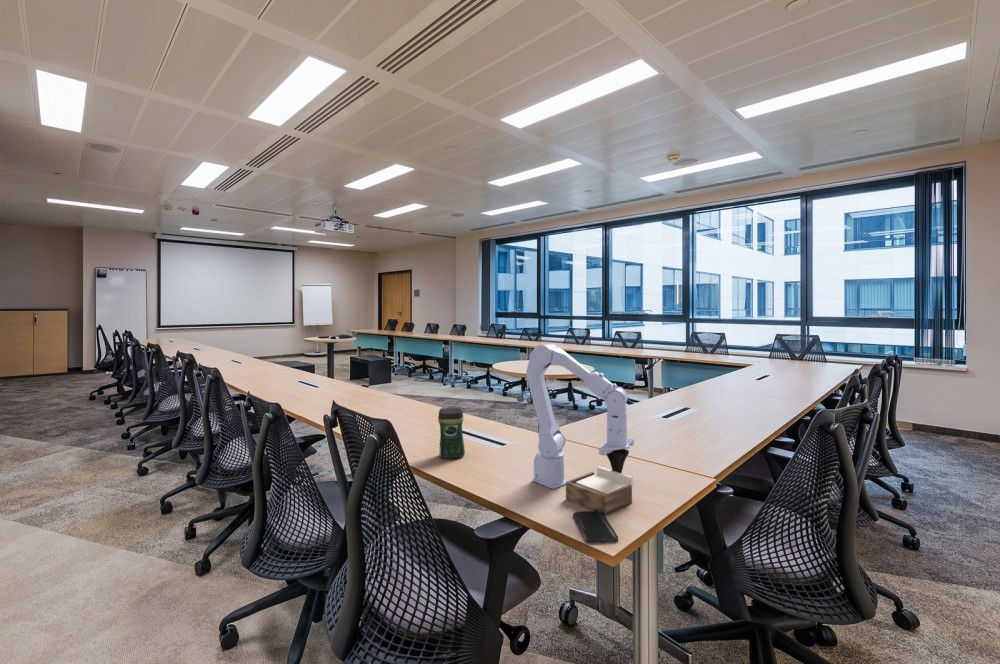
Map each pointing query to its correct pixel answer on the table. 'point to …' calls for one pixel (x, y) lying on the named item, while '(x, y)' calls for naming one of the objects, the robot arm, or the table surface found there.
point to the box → (598, 496)
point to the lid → (605, 481)
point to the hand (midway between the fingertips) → (617, 473)
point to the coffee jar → (451, 433)
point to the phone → (595, 527)
